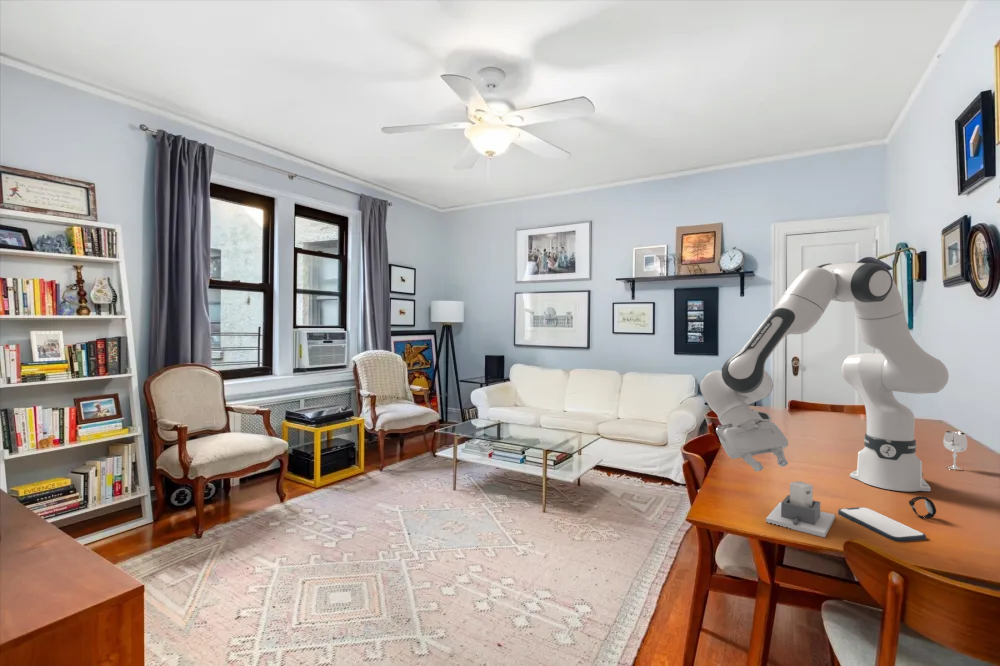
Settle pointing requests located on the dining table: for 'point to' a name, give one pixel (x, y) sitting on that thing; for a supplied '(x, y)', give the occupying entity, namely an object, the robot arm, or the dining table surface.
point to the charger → (801, 494)
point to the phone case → (882, 524)
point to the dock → (801, 517)
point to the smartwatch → (928, 504)
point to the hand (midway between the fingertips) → (772, 467)
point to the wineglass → (955, 444)
